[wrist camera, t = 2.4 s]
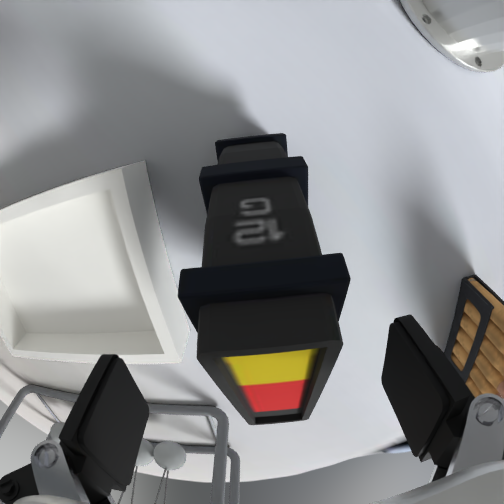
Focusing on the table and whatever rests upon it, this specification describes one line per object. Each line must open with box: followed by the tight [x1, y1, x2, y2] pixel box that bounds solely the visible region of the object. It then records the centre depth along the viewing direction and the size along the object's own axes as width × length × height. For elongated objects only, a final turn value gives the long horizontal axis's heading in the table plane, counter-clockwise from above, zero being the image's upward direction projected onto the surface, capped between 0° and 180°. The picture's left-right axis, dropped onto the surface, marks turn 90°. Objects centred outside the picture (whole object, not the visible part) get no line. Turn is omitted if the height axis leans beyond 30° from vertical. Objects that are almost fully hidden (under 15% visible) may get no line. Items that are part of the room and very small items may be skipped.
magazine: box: [178, 133, 350, 425], centre depth 15 cm, size 4×13×15 cm, turn 6°
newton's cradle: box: [0, 385, 240, 504], centre depth 22 cm, size 30×10×18 cm, turn 95°
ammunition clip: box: [444, 275, 504, 399], centre depth 19 cm, size 11×2×12 cm, turn 9°
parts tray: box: [0, 160, 190, 364], centre depth 20 cm, size 14×20×4 cm
